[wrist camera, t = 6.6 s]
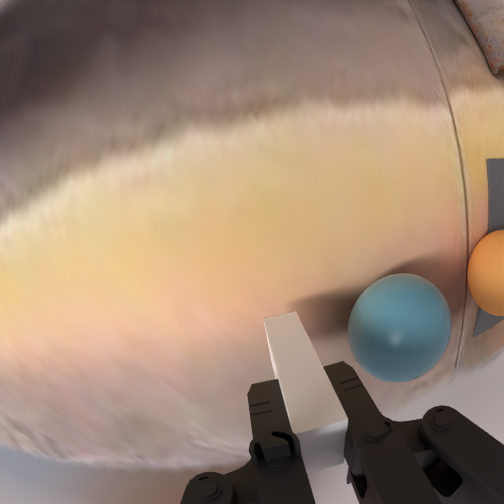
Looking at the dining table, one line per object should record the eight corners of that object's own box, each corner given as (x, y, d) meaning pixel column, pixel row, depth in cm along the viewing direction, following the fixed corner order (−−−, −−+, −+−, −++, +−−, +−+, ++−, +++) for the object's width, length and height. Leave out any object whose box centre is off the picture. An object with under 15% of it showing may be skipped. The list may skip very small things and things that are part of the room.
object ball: (487, 342, 11) (540, 319, 10) (504, 251, 10) (557, 239, 9) (450, 299, 17) (501, 286, 16) (455, 225, 15) (508, 217, 14)
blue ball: (448, 390, 11) (413, 331, 16) (485, 301, 9) (429, 253, 14) (353, 412, 11) (334, 342, 16) (375, 321, 9) (340, 259, 14)
